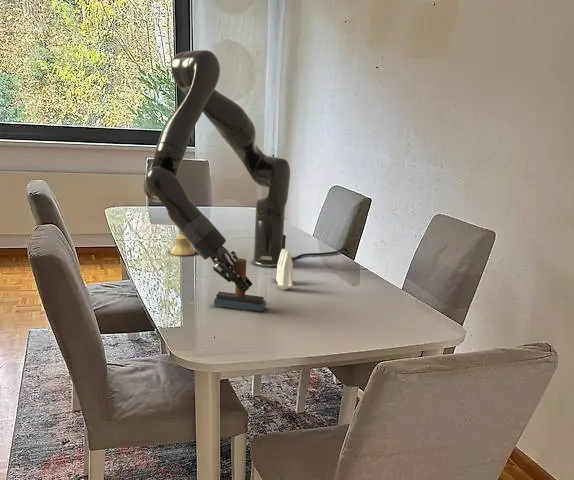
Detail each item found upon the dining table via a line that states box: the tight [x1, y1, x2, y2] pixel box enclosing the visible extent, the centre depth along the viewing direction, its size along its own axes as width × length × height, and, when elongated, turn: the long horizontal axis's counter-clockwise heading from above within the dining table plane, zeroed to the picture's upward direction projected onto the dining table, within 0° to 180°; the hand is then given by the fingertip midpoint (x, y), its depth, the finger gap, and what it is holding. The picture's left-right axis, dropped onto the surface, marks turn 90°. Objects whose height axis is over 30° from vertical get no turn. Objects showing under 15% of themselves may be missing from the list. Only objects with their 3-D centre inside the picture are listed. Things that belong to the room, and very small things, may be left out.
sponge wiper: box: [213, 258, 267, 313], centre depth 164 cm, size 4×13×13 cm, turn 79°
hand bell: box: [169, 230, 196, 257], centre depth 210 cm, size 8×8×16 cm
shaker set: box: [275, 248, 294, 290], centre depth 184 cm, size 12×4×11 cm, turn 4°
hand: (248, 288), depth 164 cm, fingers closed on sponge wiper, 2 cm apart
